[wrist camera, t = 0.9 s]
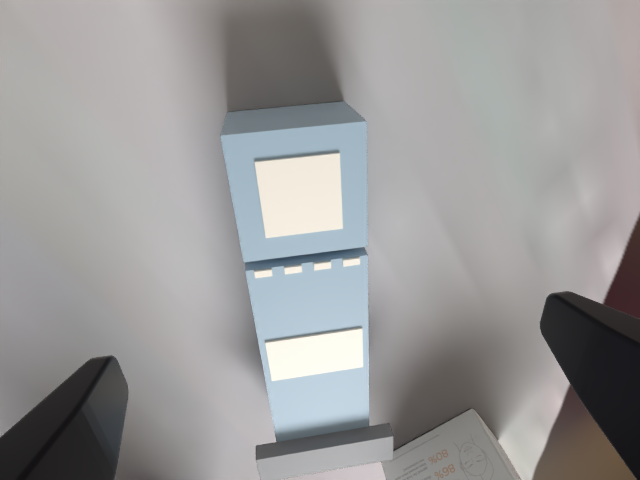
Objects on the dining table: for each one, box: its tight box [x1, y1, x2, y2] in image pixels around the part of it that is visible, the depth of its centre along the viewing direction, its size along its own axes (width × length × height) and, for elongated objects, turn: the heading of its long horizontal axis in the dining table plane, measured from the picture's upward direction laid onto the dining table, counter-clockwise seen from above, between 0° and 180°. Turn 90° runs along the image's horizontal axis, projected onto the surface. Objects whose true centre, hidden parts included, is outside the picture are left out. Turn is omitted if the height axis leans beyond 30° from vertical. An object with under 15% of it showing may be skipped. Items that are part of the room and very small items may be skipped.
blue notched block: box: [245, 247, 394, 480], centre depth 21 cm, size 7×13×5 cm, turn 4°
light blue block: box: [220, 101, 368, 262], centre depth 17 cm, size 5×5×4 cm
